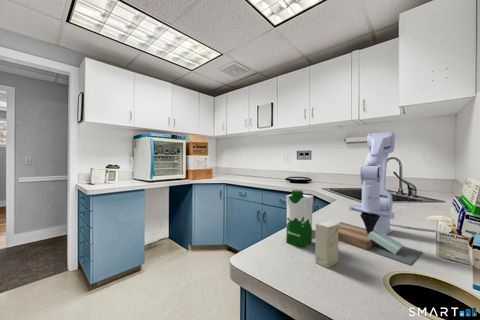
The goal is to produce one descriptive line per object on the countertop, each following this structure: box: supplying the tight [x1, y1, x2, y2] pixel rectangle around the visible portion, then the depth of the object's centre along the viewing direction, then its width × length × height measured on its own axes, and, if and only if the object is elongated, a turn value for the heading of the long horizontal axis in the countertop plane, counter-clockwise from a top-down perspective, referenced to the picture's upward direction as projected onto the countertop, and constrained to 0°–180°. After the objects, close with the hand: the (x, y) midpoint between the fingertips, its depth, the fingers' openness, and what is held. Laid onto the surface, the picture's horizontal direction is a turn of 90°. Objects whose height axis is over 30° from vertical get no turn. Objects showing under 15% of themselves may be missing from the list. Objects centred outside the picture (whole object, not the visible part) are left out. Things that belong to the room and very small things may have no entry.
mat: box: [369, 244, 423, 266], centre depth 70 cm, size 14×11×1 cm
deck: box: [338, 221, 379, 251], centre depth 82 cm, size 14×16×3 cm
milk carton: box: [285, 189, 314, 249], centre depth 77 cm, size 9×9×20 cm
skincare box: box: [314, 220, 339, 268], centre depth 63 cm, size 6×4×12 cm
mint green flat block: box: [368, 229, 404, 254], centre depth 72 cm, size 6×9×2 cm, turn 37°
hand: (369, 233), depth 77 cm, fingers closed
